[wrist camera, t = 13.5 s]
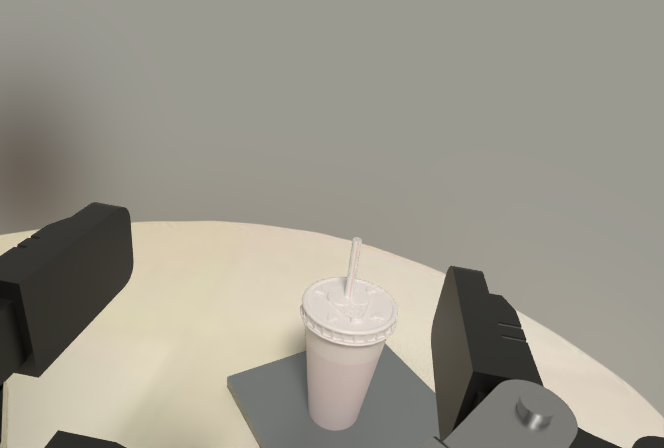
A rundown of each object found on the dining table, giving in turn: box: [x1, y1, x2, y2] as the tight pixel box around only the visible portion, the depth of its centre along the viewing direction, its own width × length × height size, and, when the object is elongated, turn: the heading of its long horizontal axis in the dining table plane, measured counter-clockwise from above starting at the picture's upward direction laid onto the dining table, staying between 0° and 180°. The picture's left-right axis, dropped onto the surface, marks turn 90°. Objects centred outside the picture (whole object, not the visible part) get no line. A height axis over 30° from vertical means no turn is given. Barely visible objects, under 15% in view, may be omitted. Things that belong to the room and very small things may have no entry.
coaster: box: [227, 344, 440, 448], centre depth 35 cm, size 14×14×1 cm
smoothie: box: [300, 237, 398, 431], centre depth 32 cm, size 6×6×14 cm
